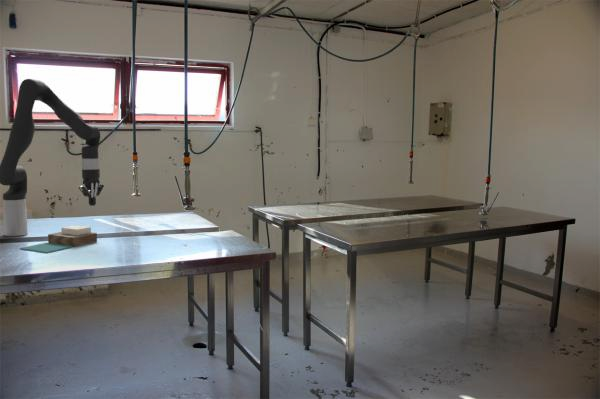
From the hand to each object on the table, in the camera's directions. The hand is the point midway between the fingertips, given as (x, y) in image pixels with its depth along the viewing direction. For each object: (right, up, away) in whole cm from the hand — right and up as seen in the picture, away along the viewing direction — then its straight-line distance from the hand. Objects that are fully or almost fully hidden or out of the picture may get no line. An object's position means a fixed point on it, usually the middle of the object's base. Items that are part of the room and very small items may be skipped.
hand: (92, 205), depth 215 cm
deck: (-4, -16, -10) cm, 20 cm away
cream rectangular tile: (-3, -12, -8) cm, 15 cm away
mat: (-9, -18, -22) cm, 30 cm away
